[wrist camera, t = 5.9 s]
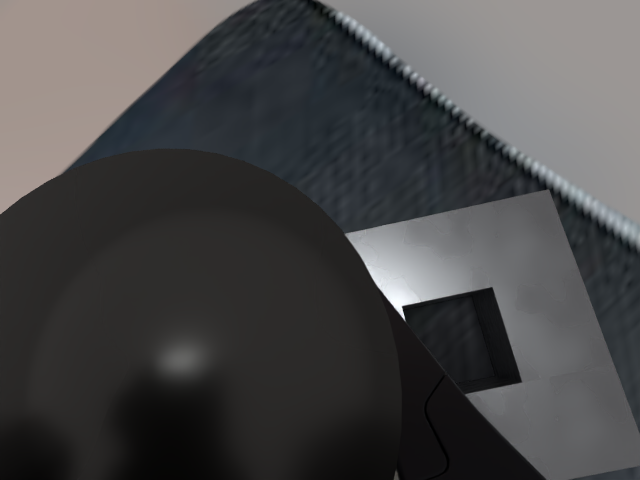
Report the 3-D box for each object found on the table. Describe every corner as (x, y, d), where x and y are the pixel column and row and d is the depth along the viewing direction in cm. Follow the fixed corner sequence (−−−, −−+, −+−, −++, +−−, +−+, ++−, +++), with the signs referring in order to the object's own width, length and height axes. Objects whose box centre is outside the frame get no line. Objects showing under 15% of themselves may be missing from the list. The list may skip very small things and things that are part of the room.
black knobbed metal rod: (380, 379, 15) (507, 571, 2) (289, 418, 15) (-76, 830, 2) (341, 288, 16) (282, 80, 3) (255, 325, 16) (-138, 257, 3)
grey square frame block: (600, 443, 20) (650, 463, 16) (357, 490, 20) (357, 520, 17) (520, 212, 23) (548, 189, 19) (310, 257, 23) (302, 243, 20)
